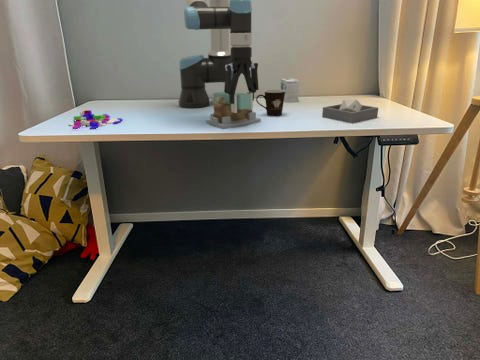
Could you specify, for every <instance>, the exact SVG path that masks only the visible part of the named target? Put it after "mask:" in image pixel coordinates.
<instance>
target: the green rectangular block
mask: <svg viewBox="0 0 480 360" xmlns="http://www.w3.org/2000/svg"><path fill="white" fill-rule="evenodd" d="M234 95H237V109H247V108H252V107H251V94H247V93H242V92H235V94H234ZM212 97H213V98H212V100H213V104H214V103H217V97H225V103H228V104H229V108H231V104H230V102H229V94H227V93H225V92H224V91H220V92H218V91H217V92H213V93H212Z"/></svg>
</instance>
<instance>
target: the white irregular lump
mask: <svg viewBox="0 0 480 360" xmlns="http://www.w3.org/2000/svg"><path fill="white" fill-rule="evenodd" d="M340 104H341V106H340V108H339V110H343V111H348V112H356V111H360V109H361V107H362V105H363V104H362V103H361V102H360V101H359V100H358V99H357V98H355V97H346V98H343V100H342V102H341V103H340Z"/></svg>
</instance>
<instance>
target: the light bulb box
mask: <svg viewBox="0 0 480 360" xmlns="http://www.w3.org/2000/svg"><path fill="white" fill-rule="evenodd" d="M280 90H284V91H285V95H284V103H285V104H286V103H287V104H289V103H299V91H300V80H298V79H297V78H292V77H291V78H288V77H287V78H280Z"/></svg>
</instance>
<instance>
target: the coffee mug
mask: <svg viewBox="0 0 480 360" xmlns="http://www.w3.org/2000/svg"><path fill="white" fill-rule="evenodd" d="M284 95H285V91H284V90H281V89H266V90H264V94H259V95H256V98H255V101H256V103H257V104H258V105H259V106H261V107H262V108H264V109H265V110H266V115H267V116H268V117H280V116H282V115H283V109H284V103H285V102H284ZM260 97H263V98H264V100H265V106H264V105H263V104H261V103H260V102H259V100H258V99H259V98H260Z"/></svg>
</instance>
